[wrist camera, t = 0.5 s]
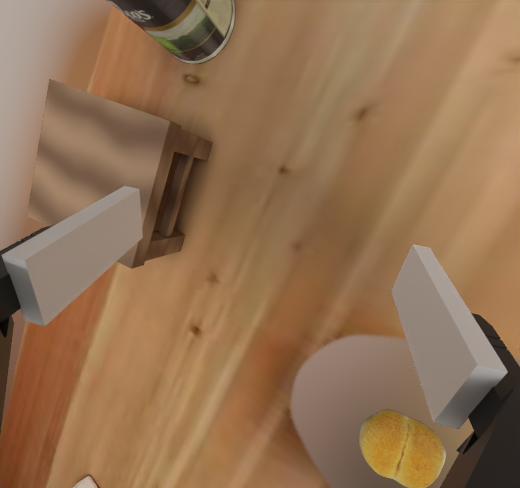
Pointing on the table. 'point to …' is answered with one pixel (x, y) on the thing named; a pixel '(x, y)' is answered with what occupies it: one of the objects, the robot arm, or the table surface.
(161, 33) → the coffee can
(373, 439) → the bread roll
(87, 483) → the salt shaker
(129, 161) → the stool
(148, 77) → the table surface
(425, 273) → the robot arm
